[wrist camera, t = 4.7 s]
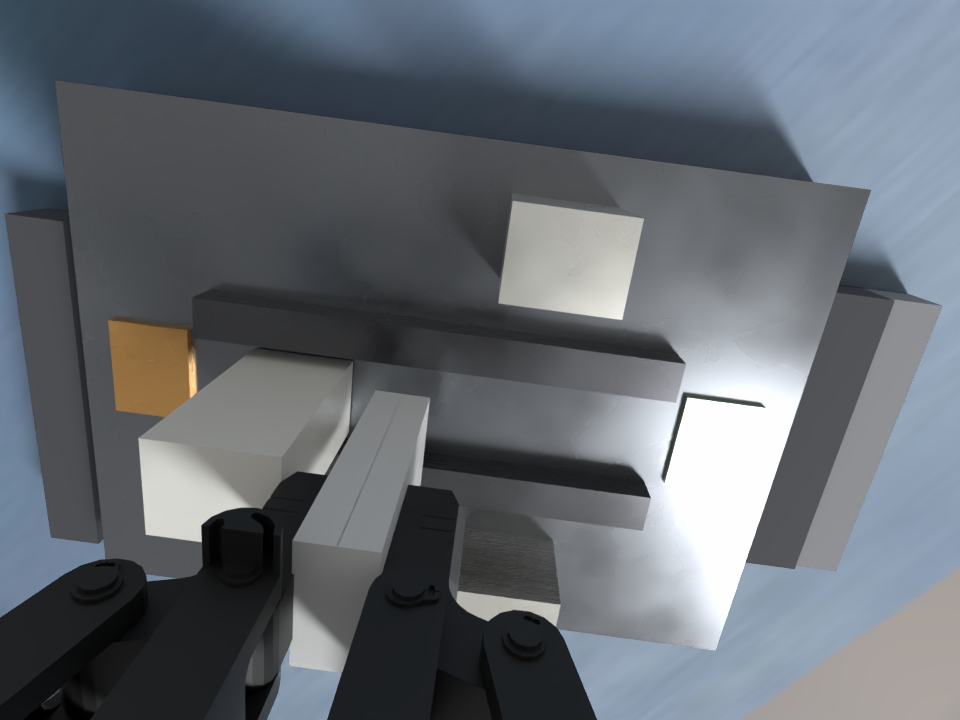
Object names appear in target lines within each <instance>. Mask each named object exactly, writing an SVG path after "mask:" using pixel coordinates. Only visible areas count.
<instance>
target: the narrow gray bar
mask: <svg viewBox="0 0 960 720" xmlns="http://www.w3.org/2000/svg"><path fill="white" fill-rule="evenodd" d="M941 309H942V306H941V305H938V304H936V303H933V302H930V301H927V300H924V299H921V298H918V297H916V296H913V295H910V294H904V293H896V292H889V291H881V290H874V289H866V288H859V287H852V286H844V285H839V286H838V289H837V292H836V295H835V298H834V301H833V304H832V307H831V310H830V313H829V316H828V319H827V322H826V325H825V328H824V331H823V334H822V337H821V340H820V342H819V345H818V348H817V351H816V354H815V357H814V360H813V363H812V366H811V369H810V372H809V375H808V378H807V381H806V384H805V387H804V390H803V393H802V396H801V399H800V402H799V405H798V408H797V411H796V414H795V416H794V419H793V422H792V425H791V428H790V431H789V434H788V437H787V440H786V443H785V446H784V449H783V452H782V455H781V458H780V461H779V464H778V467H777V470H776V473H775V476H774V479H773V482H772V485H771V488H770V490H769V493H768V496H767V499H766V502H765V505H764V508H763V511H762V514H761V517H760V520H759V523H758V526H757V529H756V532H755V535H754V538H753V541H752V544H751V547H750V550H749V553H748V556H747V559H746V561H745V562H746V563H754V564H761V565H769V566H776V567H784V568H791V569H795V567H796V566H801V567H808V568H816V569H823V570H831V571H836V569H837V567H838V564H839V562H840V559H841V557H842V554H843V552H844V549H845V547H846V544H847V542H848V539H849V537H850V534H851V532H852V529H853V527H854V524H855V522H856V520H857V517H858V515H859V512H860V510H861V507H862V505H863V502H864V500H865V497H866V495H867V492H868V490H869V487H870V485H871V482H872V480H873V477H874V475H875V472H876V470H877V467H878V465H879V462H880V460H881V458H882V455H883V453H884V450H885V448H886V445H887V443H888V440H889V438H890V435H891V433H892V430H893V428H894V425H895V423H896V420H897V418H898V415H899V413H900V410H901V408H902V405H903V403H904V400H905V398H906V396H907V393H908V391H909V388H910V386H911V383H912V381H913V378H914V376H915V373H916V371H917V368H918V366H919V363H920V361H921V358H922V356H923V353H924V351H925V348H926V346H927V343H928V341H929V338H930V336H931V334H932V331H933V329H934V326H935V324H936V321H937V319H938V316H939V314H940V311H941Z"/></svg>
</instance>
